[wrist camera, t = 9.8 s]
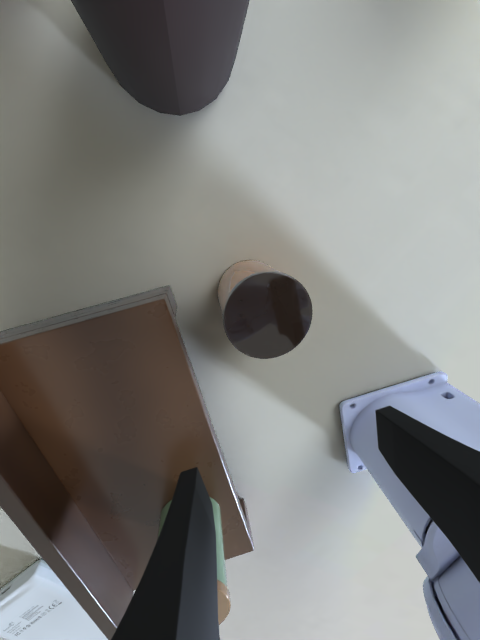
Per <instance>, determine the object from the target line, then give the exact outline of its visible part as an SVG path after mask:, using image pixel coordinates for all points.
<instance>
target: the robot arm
mask: <svg viewBox="0 0 480 640" xmlns="http://www.w3.org/2000/svg"><path fill="white" fill-rule="evenodd" d="M351 404H353V405H351ZM350 405H351V406H350ZM340 414H341V421H342V428H343V435H344V443H345V450H346V457H347V464H348V469H349V470H350V472H352V473H356V472H359V471H362V470H365V469H367V470H368V471H369V473H370V474H371V475H372V477H373V478H374V480H375V481H376V483H377V484H378V486H379V487H380V488H381V490H382V491H383V493H384V494H385V496H386V497H387V499H388V500H389V501H390V503H391V504H392V506H393V507H394V509H395V510H396V512H397V513H398V514H399V516H400V517H401V519H402V520H403V522H404V523H405V525H406V526H407V527H408V529H409V530H410V532H411V533H412V535H413V536H414V538H415V539H416V540H417V542H418V543H419V545H420V546H421V548H422V549H421V550H420V552H419V553H418V554H417V555H416V558H417V560H418V561H419V563H420V564H421V566H422V567H423V569H424V570H425V572H426V573H427V575H428V576H427V577H426V579H425V580H424V582H423V592H424V597H425V601H426V604H427V608H428V612H429V616H430V618H431V621H432V624H433V626H434V628H435V630H436V633H437V635H438V637H439V639H440V640H480V403H478V402H477V401H475V400H474V399H472V398H471V397H469V396H467V395H466V394H464V393H463V392H461V391H460V390H458V389H456V388H455V387H453V386H452V385H450V384H449V383H447V374H446V373H444V372H442V371H439V372H436V373H432V374H429V375H426V376H423V377H419V378H416V379H413V380H410V381H406V382H403V383H400V384H397V385H393V386H390V387H387V388H384V389H381V390H377V391H374V392H371V393H368V394H364V395H361V396H358V397H355V398H351V399H348V400H345V401H343V402H341V404H340ZM111 640H220V637H219V622H218V592H217V553H216V531H215V522H214V514H213V506H212V502H211V499H210V497H209V494H208V492H207V490H206V487H205V485H204V482H203V480H202V477H201V475H200V472H199V470H198V468H197V467H195V468H192V469H189V470H186V471H183V472H181V473H180V475H179V479H178V482H177V485H176V489H175V492H174V495H173V498H172V501H171V504H170V507H169V510H168V513H167V516H166V518H165V521H164V524H163V526H162V529H161V532H160V535H159V537H158V540H157V542H156V545H155V547H154V550H153V552H152V554H151V557H150V559H149V562H148V564H147V566H146V569H145V571H144V573H143V576H142V578H141V580H140V582H139V584H138V587H137V589H136V591H135V593H134V595H133V597H132V599H131V601H130V603H129V605H128V607H127V610H126V612H125V614H124V616H123V617H122V619H121V621H120V623H119V625H118V627H117V629H116V631H115V633H114V635H113V637H112V639H111Z"/></svg>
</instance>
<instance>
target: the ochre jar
mask: <svg viewBox="0 0 480 640" xmlns="http://www.w3.org/2000/svg"><path fill="white" fill-rule="evenodd" d="M218 301H219V304H220V308H221V311H222V315H223V324H224V329H225V332H226V335H227V337H228V339H229V340H230V342H231V343H232V344H233V345H234V346H235V347H236V348H237V349H238V350H239V351H240V352H242V353H244V354H246V355H248V356H251V357H255V358H261V359H268V358H274V357H278V356H281V355H284V354H286V353H288V352H289V351H291V350H292V349H294V348H295V347H296V346H297V345H298V344H299V343H300V342H301V341H302V340H303V338H304V337H305V335H306V334H307V332H308V330H309V327H310V324H311V320H312V304H311V300H310V297H309V295H308V293H307V291H306V289H305V288H304V287H303V285H302V284H301V283H299V282H298V281H297V280H296V279H294V278H293V277H291V276H289V275H287V274H285V273H282V272H279V271H277V270H275V269H274V268H272V267H270V266H269V265H267V264H265V263H263V262H261V261H257V260H245V261H241V262H238V263H236V264H234V265H232V266H231V267H230V268H229V269H227V271H226V272H225V273H224V274H223V276H222V277H221V279H220V282H219V285H218Z"/></svg>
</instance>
